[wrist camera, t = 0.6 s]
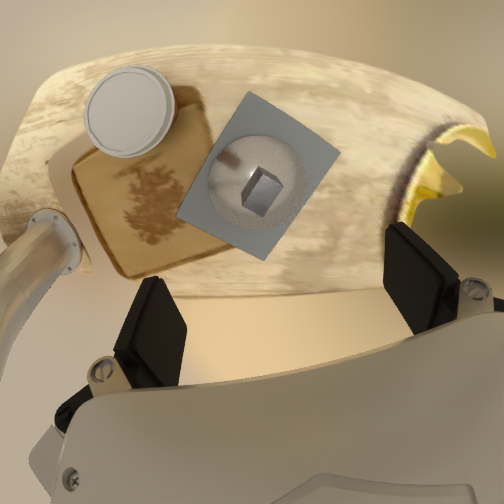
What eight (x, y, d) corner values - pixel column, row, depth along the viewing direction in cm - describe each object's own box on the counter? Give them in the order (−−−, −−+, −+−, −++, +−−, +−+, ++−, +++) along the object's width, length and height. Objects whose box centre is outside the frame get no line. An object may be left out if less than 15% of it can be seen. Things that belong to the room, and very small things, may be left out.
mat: (263, 259, 43) (263, 261, 42) (176, 215, 38) (175, 216, 37) (339, 151, 35) (340, 152, 34) (248, 91, 30) (249, 91, 30)
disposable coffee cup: (120, 86, 28) (76, 80, 17) (187, 71, 28) (168, 52, 18) (127, 150, 32) (87, 169, 22) (193, 138, 33) (177, 151, 22)
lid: (271, 240, 40) (277, 263, 35) (192, 199, 36) (185, 216, 31) (321, 168, 35) (338, 179, 30) (241, 116, 31) (244, 117, 26)
